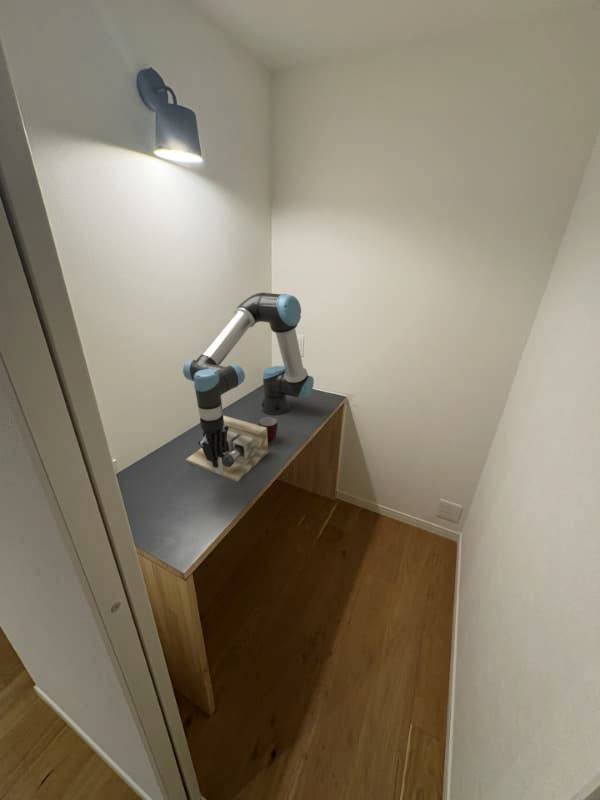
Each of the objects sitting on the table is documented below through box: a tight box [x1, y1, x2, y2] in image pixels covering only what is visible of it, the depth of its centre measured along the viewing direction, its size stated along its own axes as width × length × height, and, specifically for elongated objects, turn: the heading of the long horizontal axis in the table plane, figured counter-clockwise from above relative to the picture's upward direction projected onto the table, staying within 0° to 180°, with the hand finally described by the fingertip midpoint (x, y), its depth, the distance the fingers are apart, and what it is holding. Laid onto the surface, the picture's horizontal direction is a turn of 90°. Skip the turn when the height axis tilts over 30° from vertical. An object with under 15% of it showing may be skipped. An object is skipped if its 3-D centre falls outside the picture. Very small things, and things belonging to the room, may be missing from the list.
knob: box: [222, 446, 244, 467], centre depth 121 cm, size 9×5×5 cm, turn 153°
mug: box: [258, 416, 278, 444], centre depth 139 cm, size 10×8×10 cm
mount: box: [185, 414, 269, 482], centre depth 128 cm, size 21×26×12 cm
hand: (219, 472), depth 114 cm, fingers closed
